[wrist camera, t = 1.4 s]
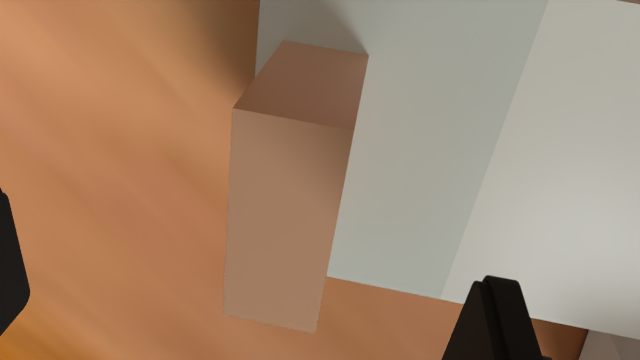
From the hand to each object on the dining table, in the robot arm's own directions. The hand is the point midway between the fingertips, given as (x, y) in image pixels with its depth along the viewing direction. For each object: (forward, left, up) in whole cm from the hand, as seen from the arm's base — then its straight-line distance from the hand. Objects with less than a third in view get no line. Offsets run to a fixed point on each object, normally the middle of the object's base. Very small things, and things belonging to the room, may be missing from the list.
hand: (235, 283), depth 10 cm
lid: (-6, 0, -8) cm, 10 cm away
